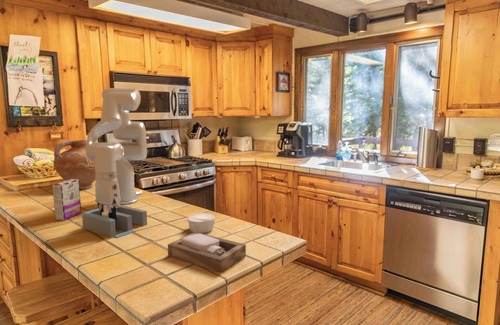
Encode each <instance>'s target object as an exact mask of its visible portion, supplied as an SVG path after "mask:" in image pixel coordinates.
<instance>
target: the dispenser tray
mask: <svg viewBox="0 0 500 325" xmlns="http://www.w3.org/2000/svg"><path fill="white" fill-rule="evenodd" d="M195 234H203V235H206V236H209V237H212V238H215V239H218V240H219V247H222V248H224V249H225V250H224V251H226V253H224V252H222V254H220V255H214V254H211V253H207V252H204V251H200V250H197V249H193V248H190V247H186V246H183V245H181V243H182V239H183V238H184V237H187V236H191V235H195ZM246 249H247V244H245V243H241V242H237V241H234V240H233V241H232V240H229V239H225V238H222V237H218V236H217V237H216V236H214V235H213V236H212V235H209V234H206V233H198V232H191V233H190V234H188V235H185V236H183V237H181V238H179V239H176V240H174V241H173V242H170V243H168V244H167V256H168V257H171V258H174V259H177V260H180V261H184V262H186V263H189V264H193V265H196V266H199V267H202V268H205V269H209V270H211V271H214V272H217V273H223V272H224V271H226V270H227V269H229V268H230V267H232V266H233V265H234V264H236V263H238V262H239V261H241V260H242V259H243V258H245V257H246V256H247V250H246Z"/></svg>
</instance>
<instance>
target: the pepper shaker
mask: <svg viewBox="0 0 500 325" xmlns="http://www.w3.org/2000/svg"><path fill="white" fill-rule="evenodd" d="M103 206H104V212H102V216H104V217H108V218H109V215H108V213H109V207H108V205H105V204H104V205H103ZM111 207H112V206H111Z"/></svg>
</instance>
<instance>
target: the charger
mask: <svg viewBox="0 0 500 325" xmlns="http://www.w3.org/2000/svg"><path fill="white" fill-rule="evenodd" d="M203 234H204V233H202V234H195V235H191V236H187V235H186V236H187V237H185V236H183V237H184V238H183V237H182V238H183V239H182V243H181V245H183V246H186V247H190V248H193V249H197V250H200V251H204V252H207V253H211V254H214V255H218V256H221V255H222V254H224V253H226V251H224V250H225V249H224V248H222V247H219V240H218V239H215V238H212V237H209V236H206V235H207V234H206V235H203ZM223 252H224V253H223Z"/></svg>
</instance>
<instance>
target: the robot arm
mask: <svg viewBox="0 0 500 325" xmlns="http://www.w3.org/2000/svg"><path fill="white" fill-rule="evenodd" d="M141 96H142V95H141V92H140V91H139V89H137V88H124V87H123V88H119V87H117V88H116V87H115V88H113V87H108V88H104V89H103V90H102V92H101V98H102V105H101V107H102V108H101V114H100V121H98V123H95V125H94V126H93V127H92V128H91V130H90V131H89V132H88V134H87V137H86V140H87V144H86V156H87V158H88V159H89V160H92V161H95V173H96V180H95V190H94V191H95V192H94V193H95V201H94V202H96V204H97V206H98V209H99V210H100V216H102V212H104V206H103V205H104V204H105V205H108V207H109V213H108V215H109V218H111V219H115V221H116V220H117V217H116V211H117V209H118V208H119V207H120V206H121V205H129V204H133V203H137V202H138V201H139V198H138V196H141V195H142V194H143V193H142V191H140V190H139V191H135V174H134V173H135V172H134V167H133V165H132V164H131V163H130V162H129V161H144V160H145V159H146V158H147V157H148V156H147V155H148V145H147V144H148V143H147V131H146V126H145V124H144V122H142V121H131V120H130V119H131V118H130V112H134V111H137V109H138V108H139V106H140V104H141V100H142V99H141ZM110 132H112V133H113V134H112V135H113V138H114V139H116V140H117V141H119V142H97V140H98V139H99V138H100V137H102V136H104V135H105V134H107V133H110ZM111 206H113V208H112V207H111Z"/></svg>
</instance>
